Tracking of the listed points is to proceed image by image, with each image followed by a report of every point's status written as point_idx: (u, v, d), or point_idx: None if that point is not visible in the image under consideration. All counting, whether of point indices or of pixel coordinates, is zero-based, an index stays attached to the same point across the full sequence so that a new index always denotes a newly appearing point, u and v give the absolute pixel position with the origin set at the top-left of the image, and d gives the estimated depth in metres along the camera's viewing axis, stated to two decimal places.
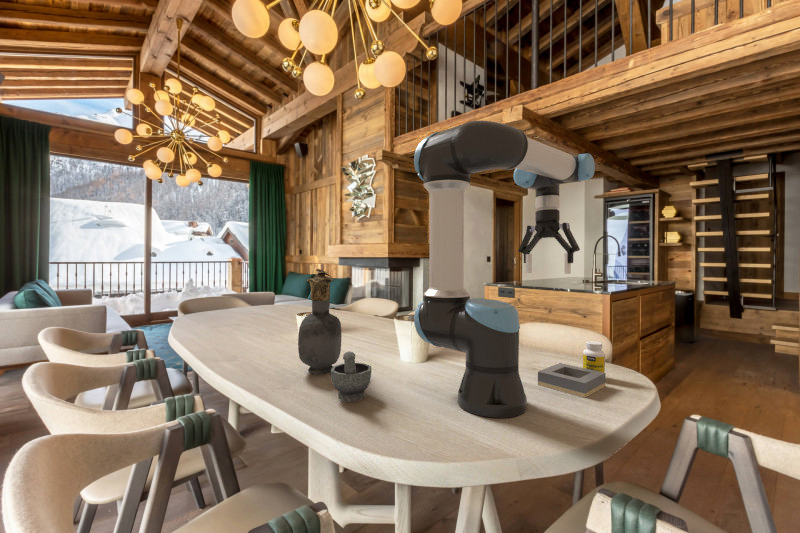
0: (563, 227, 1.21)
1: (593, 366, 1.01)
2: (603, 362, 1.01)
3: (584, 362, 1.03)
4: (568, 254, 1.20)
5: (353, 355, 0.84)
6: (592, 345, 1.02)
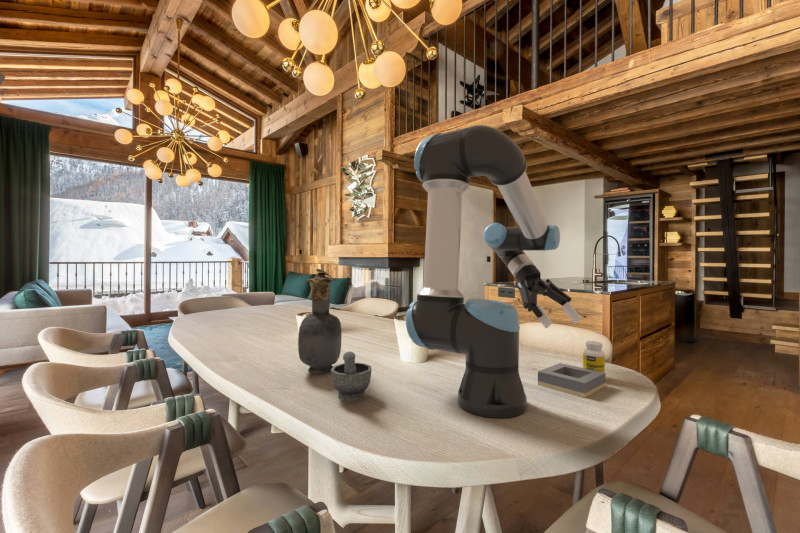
0: (550, 282, 1.23)
1: (593, 366, 1.01)
2: (603, 362, 1.01)
3: (584, 362, 1.03)
4: None
5: (353, 355, 0.84)
6: (592, 345, 1.02)
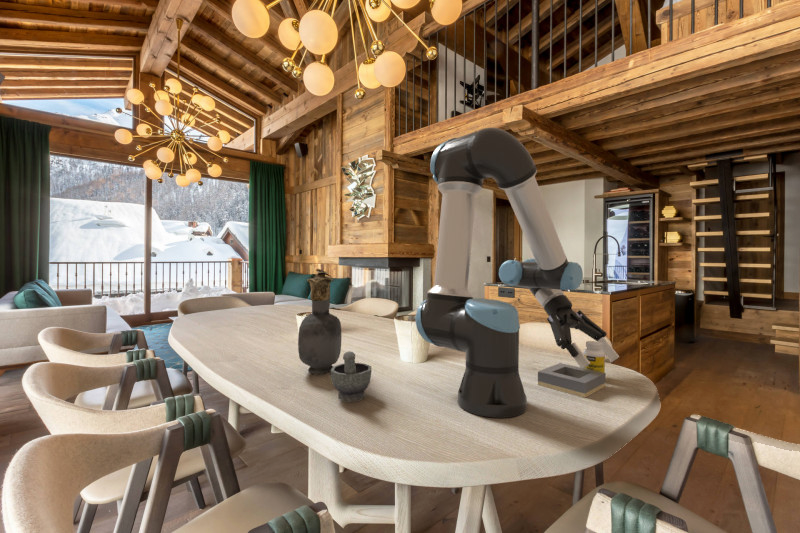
0: (582, 314, 1.13)
1: (593, 366, 1.01)
2: (603, 362, 1.01)
3: None
4: None
5: (353, 355, 0.84)
6: (592, 345, 1.02)
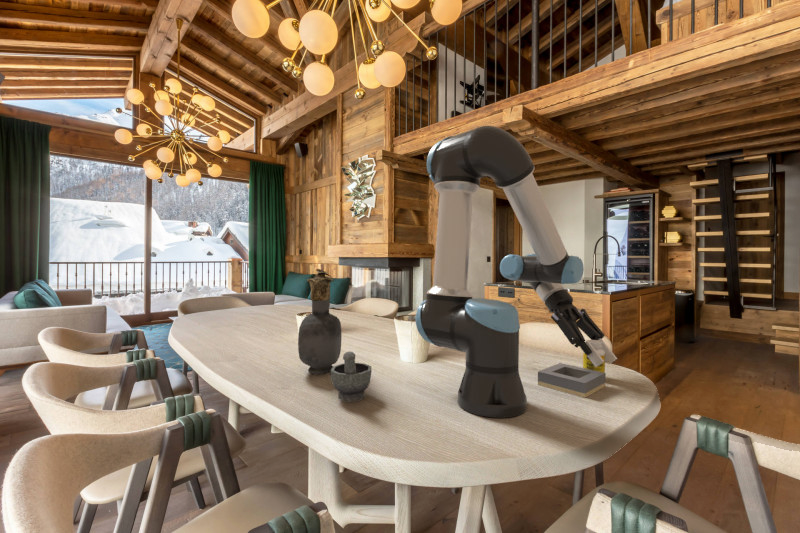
0: (584, 312, 1.12)
1: (593, 365, 1.01)
2: None
3: (584, 361, 1.03)
4: (601, 340, 1.06)
5: (353, 355, 0.84)
6: (592, 344, 1.02)
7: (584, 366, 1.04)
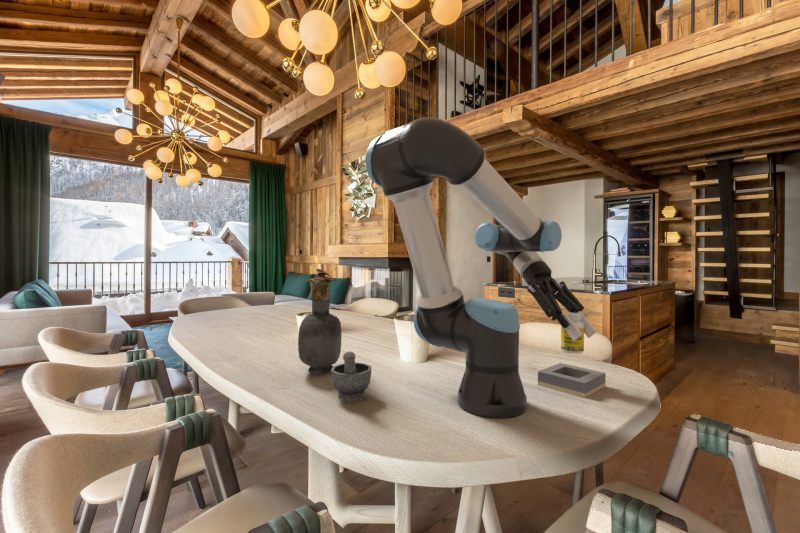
0: (563, 284, 1.05)
1: (571, 339, 0.95)
2: (582, 334, 0.95)
3: (562, 335, 0.97)
4: None
5: (353, 355, 0.84)
6: (570, 316, 0.95)
7: (562, 340, 0.97)
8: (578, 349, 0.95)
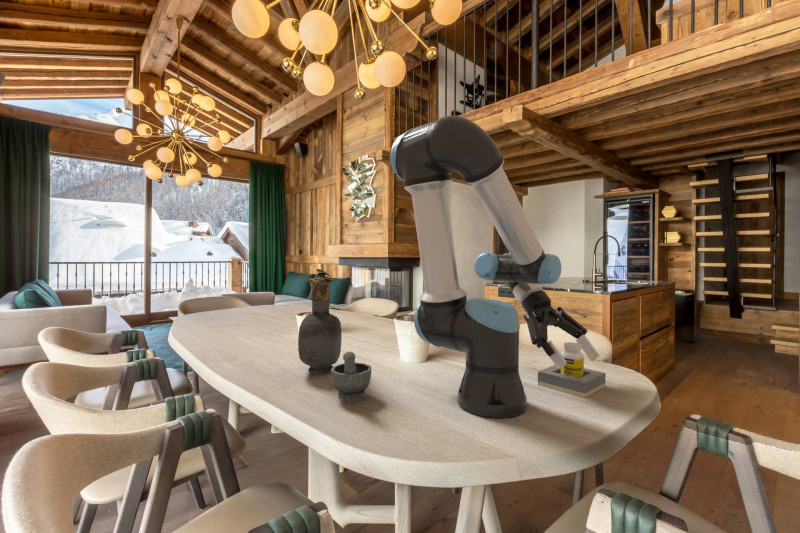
0: (561, 311, 1.06)
1: (571, 370, 0.95)
2: (582, 365, 0.95)
3: None
4: None
5: (353, 355, 0.84)
6: (570, 347, 0.96)
7: (562, 370, 0.97)
8: None
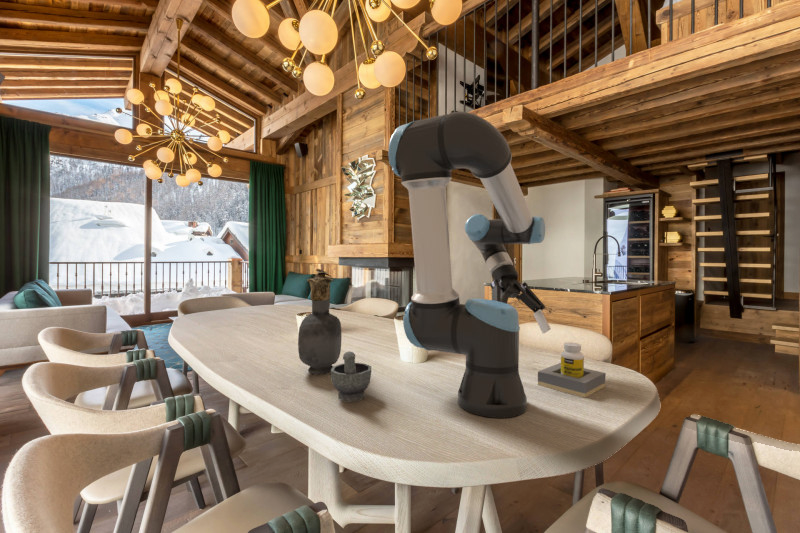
0: (526, 286, 1.17)
1: (571, 370, 0.95)
2: (582, 365, 0.95)
3: (562, 365, 0.97)
4: None
5: (353, 355, 0.84)
6: (570, 347, 0.96)
7: (562, 370, 0.97)
8: None
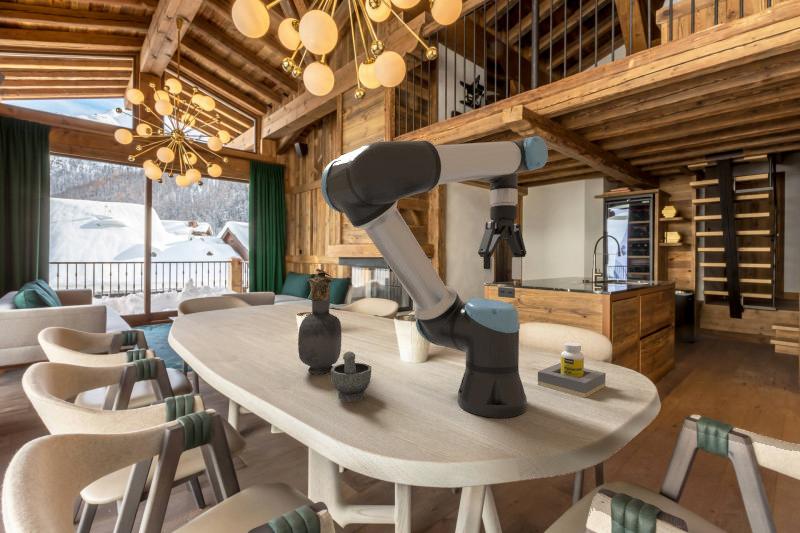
0: (518, 228, 1.10)
1: (571, 370, 0.95)
2: (582, 365, 0.95)
3: (562, 365, 0.97)
4: None
5: (353, 355, 0.84)
6: (570, 347, 0.96)
7: (562, 370, 0.97)
8: None
